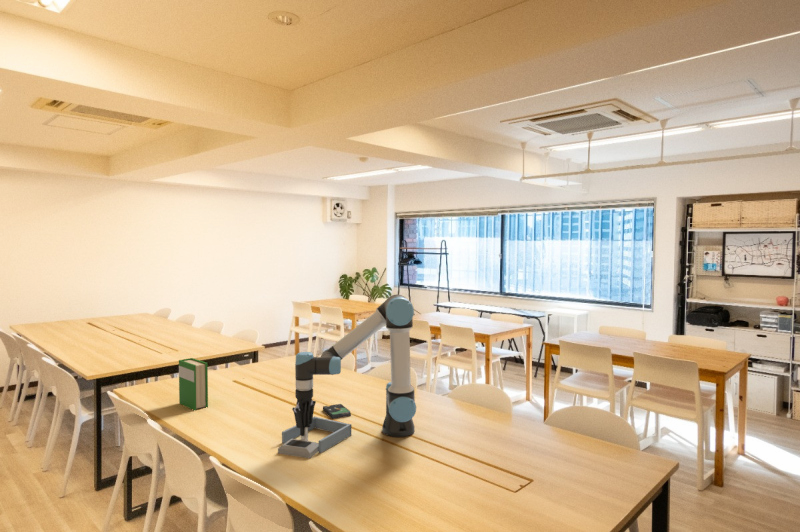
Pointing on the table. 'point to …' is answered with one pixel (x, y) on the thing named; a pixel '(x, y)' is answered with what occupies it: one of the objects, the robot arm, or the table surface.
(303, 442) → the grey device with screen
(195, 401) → the hardback book
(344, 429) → the open u-shaped frame
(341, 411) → the disk drive
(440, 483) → the table surface
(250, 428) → the table surface
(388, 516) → the table surface
